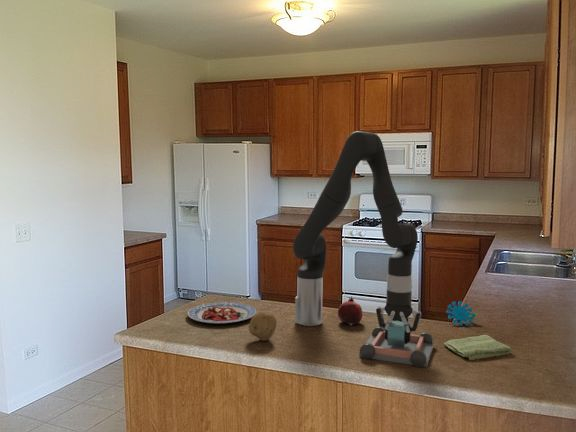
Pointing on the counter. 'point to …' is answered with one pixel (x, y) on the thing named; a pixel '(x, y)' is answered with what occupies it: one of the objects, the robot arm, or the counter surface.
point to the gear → (461, 313)
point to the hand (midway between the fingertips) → (397, 341)
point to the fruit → (350, 312)
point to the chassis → (398, 349)
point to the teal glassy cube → (396, 334)
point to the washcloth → (478, 347)
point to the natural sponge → (263, 325)
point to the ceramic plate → (221, 312)
